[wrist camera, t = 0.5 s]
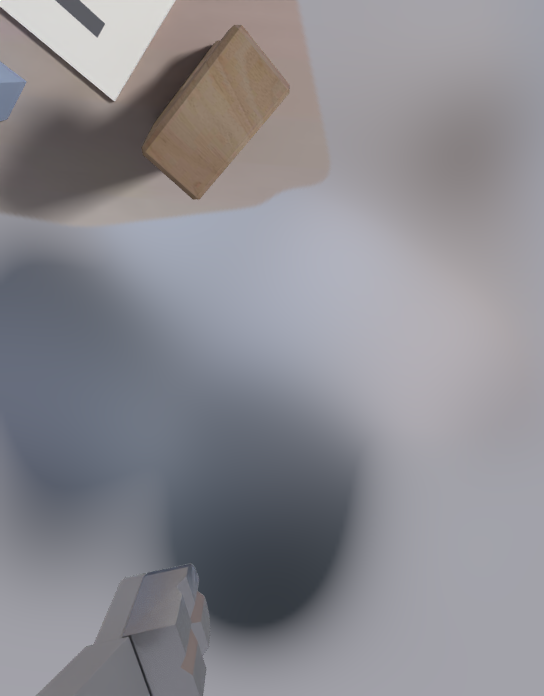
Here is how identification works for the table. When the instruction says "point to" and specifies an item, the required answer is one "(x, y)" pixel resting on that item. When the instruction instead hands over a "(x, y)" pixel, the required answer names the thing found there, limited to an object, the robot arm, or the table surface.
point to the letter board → (94, 34)
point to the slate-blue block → (9, 90)
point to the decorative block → (215, 113)
